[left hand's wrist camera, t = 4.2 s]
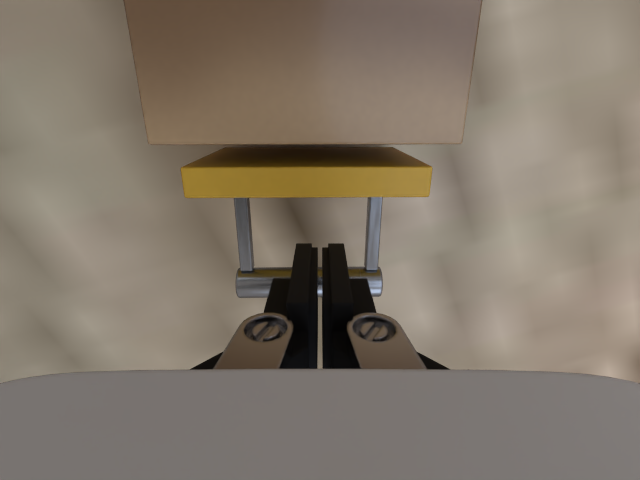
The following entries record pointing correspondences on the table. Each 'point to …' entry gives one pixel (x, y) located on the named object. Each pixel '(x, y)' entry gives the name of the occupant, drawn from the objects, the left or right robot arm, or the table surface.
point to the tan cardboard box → (303, 70)
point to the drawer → (305, 194)
